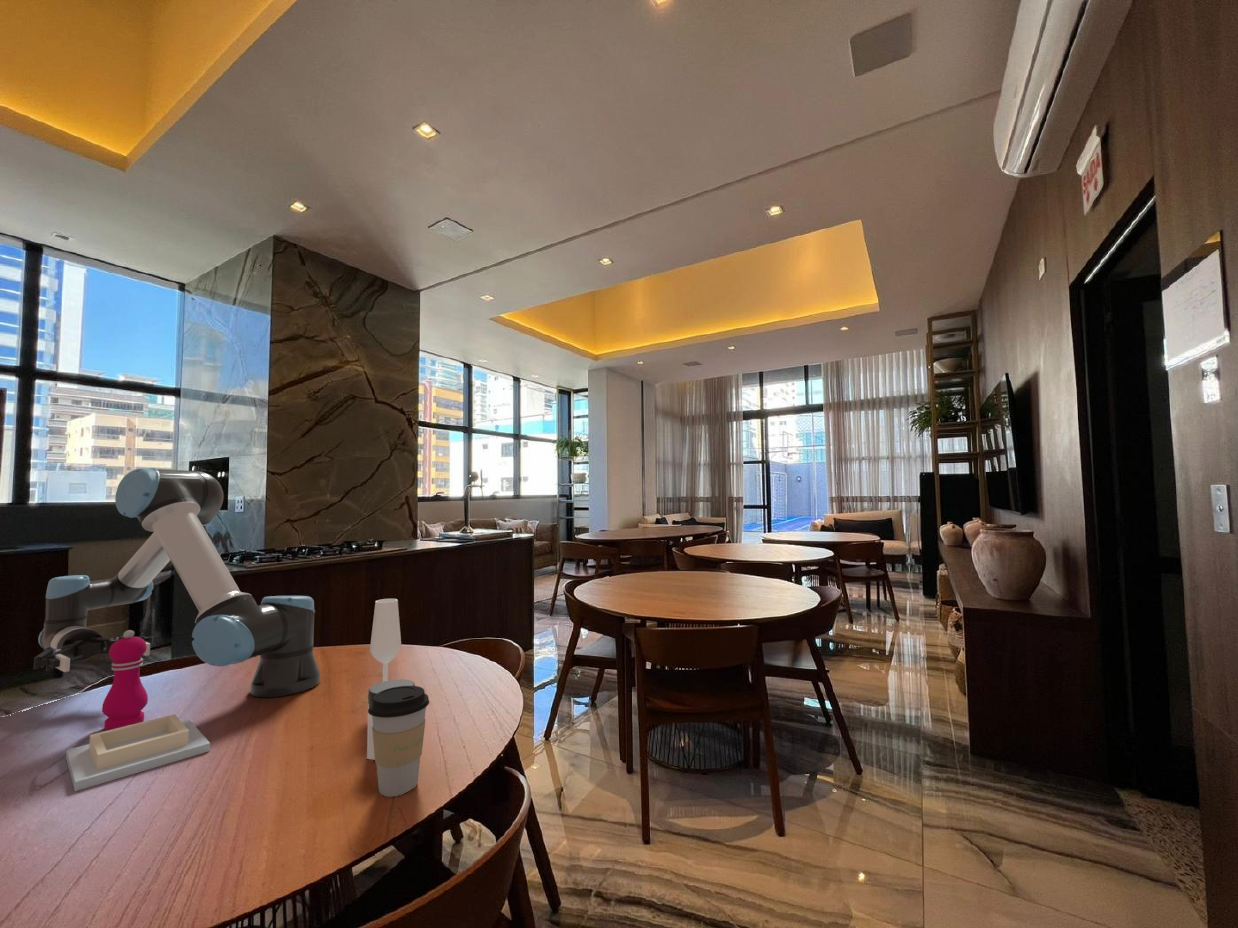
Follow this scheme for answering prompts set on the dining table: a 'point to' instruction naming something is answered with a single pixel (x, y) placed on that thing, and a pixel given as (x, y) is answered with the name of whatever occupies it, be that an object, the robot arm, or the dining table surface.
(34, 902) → the dining table surface
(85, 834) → the dining table surface
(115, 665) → the pepper mill
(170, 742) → the board
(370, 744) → the jar
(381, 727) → the coffee cup
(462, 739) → the dining table surface
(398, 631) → the champagne flute
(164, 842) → the dining table surface
